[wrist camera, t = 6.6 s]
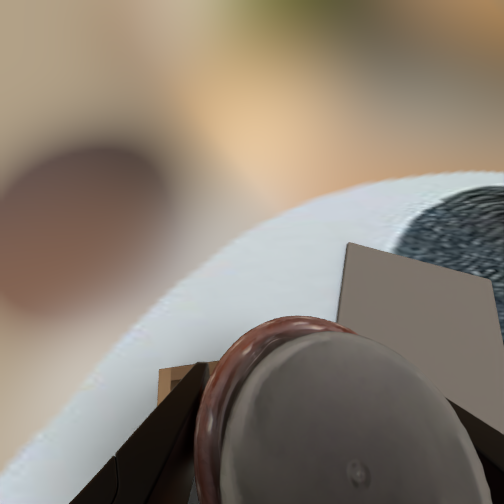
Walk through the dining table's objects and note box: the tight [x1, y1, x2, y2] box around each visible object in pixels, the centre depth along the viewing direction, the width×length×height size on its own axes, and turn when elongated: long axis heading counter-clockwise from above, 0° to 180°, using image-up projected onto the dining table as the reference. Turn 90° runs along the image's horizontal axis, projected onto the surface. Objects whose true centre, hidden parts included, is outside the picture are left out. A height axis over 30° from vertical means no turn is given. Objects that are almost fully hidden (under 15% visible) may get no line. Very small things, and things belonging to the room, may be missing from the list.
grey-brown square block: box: [337, 242, 504, 434], centre depth 21 cm, size 14×14×1 cm
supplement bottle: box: [193, 316, 493, 504], centre depth 8 cm, size 6×6×11 cm
